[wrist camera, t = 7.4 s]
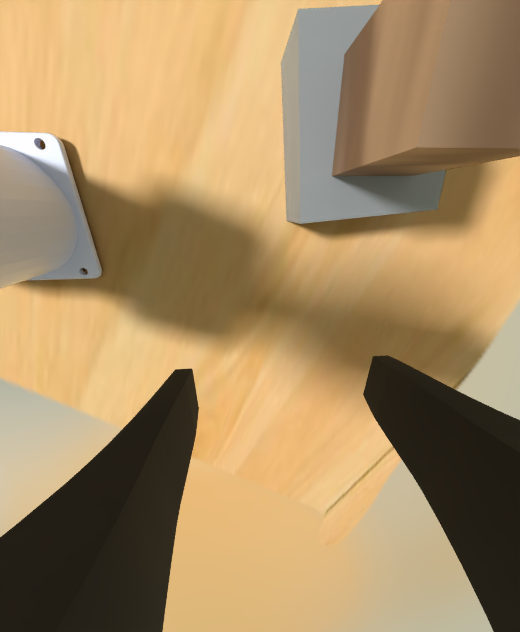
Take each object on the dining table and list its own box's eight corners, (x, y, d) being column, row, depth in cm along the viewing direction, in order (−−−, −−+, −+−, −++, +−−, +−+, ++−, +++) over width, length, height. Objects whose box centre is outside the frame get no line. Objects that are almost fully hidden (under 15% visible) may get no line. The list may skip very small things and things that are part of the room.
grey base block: (285, 220, 16) (300, 223, 12) (280, 66, 13) (298, 9, 9) (393, 209, 17) (436, 209, 13) (416, 57, 13) (485, -1, 9)
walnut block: (331, 176, 12) (416, 147, 6) (344, 54, 10) (482, -140, 4) (412, 175, 12) (558, 148, 7) (440, 58, 10) (676, -113, 5)
